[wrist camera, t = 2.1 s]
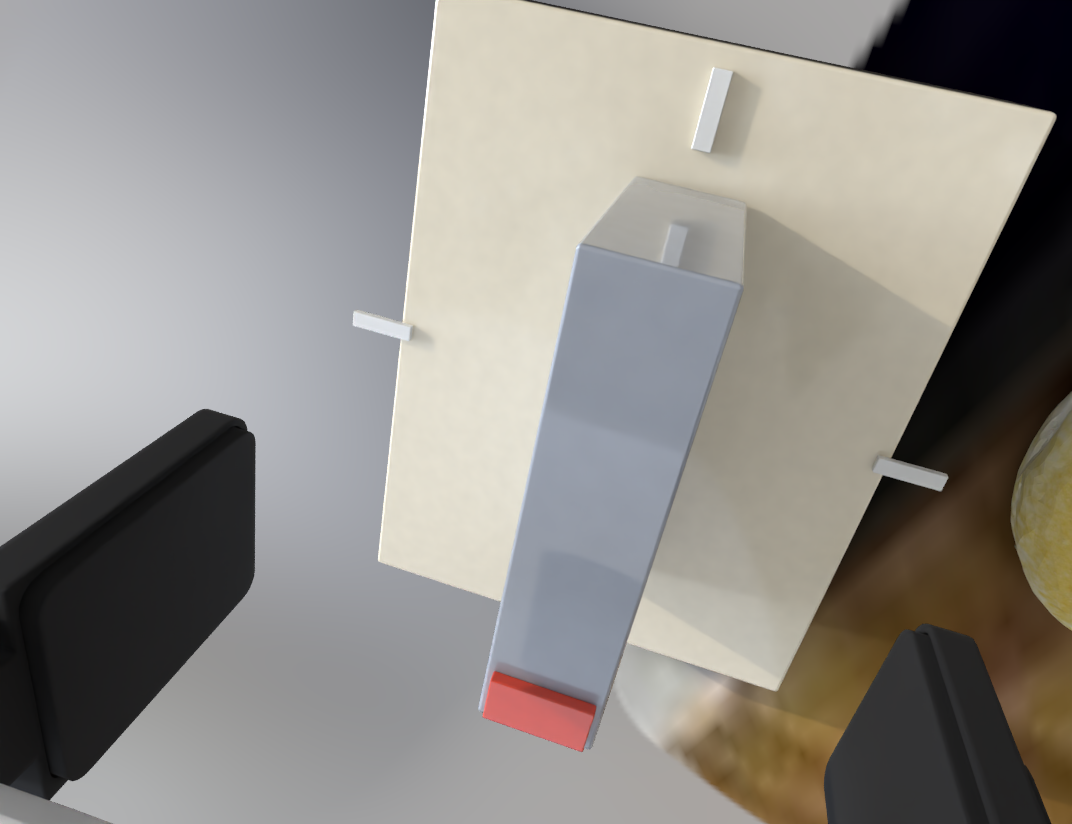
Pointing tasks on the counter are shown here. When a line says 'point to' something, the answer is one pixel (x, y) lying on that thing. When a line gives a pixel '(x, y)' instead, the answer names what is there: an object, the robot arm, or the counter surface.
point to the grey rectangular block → (611, 449)
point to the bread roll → (1047, 513)
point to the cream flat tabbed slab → (761, 319)
